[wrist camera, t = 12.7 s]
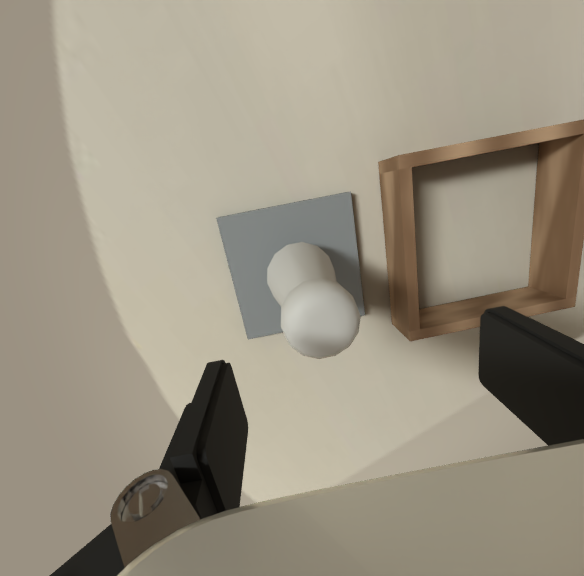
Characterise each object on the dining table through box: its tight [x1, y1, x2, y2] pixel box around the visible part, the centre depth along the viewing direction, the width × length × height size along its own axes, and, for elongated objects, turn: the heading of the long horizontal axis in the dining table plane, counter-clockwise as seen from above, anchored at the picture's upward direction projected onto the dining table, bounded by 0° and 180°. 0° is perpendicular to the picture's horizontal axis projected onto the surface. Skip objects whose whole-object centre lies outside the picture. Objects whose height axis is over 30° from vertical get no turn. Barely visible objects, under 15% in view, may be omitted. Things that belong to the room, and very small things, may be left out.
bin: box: [378, 120, 584, 341], centre depth 26 cm, size 16×16×4 cm
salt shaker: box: [267, 242, 361, 359], centre depth 21 cm, size 6×6×13 cm
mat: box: [216, 192, 365, 339], centre depth 27 cm, size 12×12×1 cm
